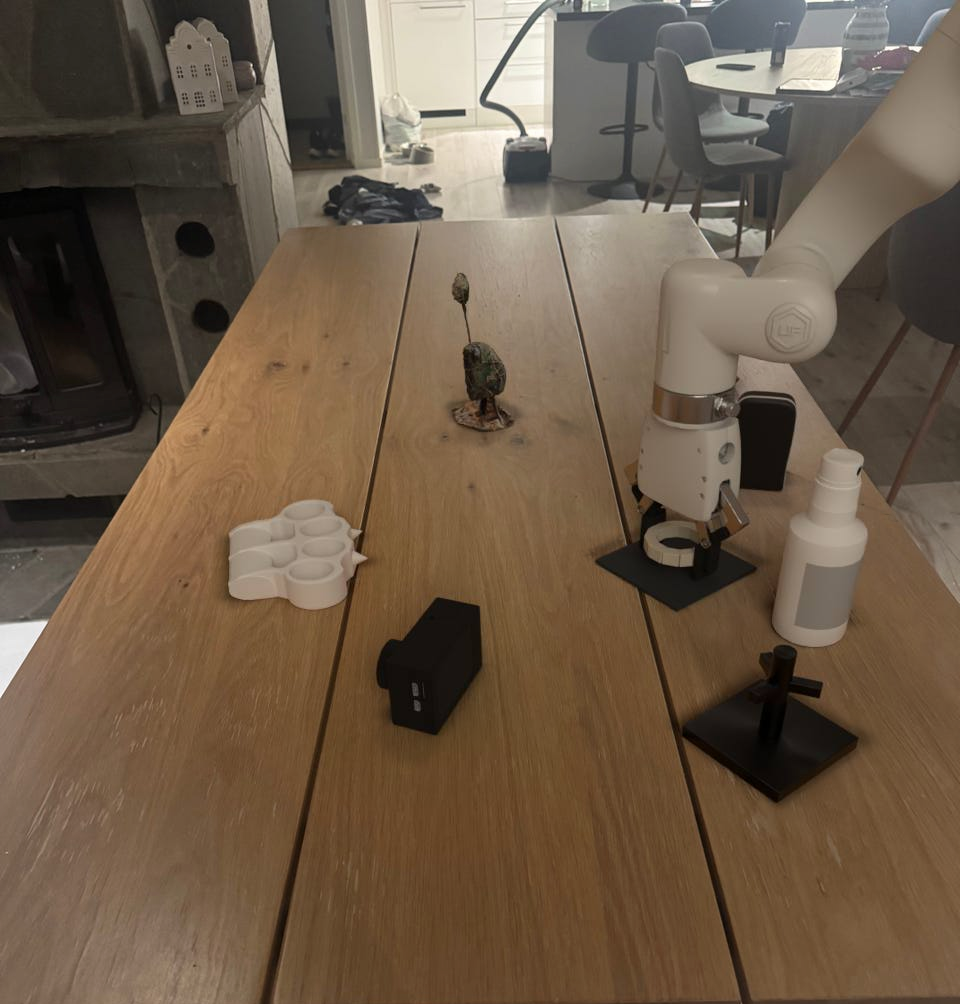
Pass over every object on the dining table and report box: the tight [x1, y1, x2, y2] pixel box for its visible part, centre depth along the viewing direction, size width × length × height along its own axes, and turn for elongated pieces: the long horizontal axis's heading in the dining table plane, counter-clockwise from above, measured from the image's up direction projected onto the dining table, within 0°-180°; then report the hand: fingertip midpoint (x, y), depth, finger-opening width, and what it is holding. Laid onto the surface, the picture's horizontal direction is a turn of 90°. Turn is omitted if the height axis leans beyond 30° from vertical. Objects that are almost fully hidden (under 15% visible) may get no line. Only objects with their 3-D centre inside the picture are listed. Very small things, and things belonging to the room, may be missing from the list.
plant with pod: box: [451, 272, 515, 432], centre depth 127 cm, size 8×11×20 cm
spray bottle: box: [771, 447, 869, 648], centre depth 87 cm, size 7×7×18 cm
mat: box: [594, 537, 758, 612], centre depth 102 cm, size 12×12×1 cm
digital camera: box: [375, 596, 483, 736], centre depth 84 cm, size 10×5×7 cm, turn 157°
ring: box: [644, 520, 700, 567], centre depth 100 cm, size 7×7×1 cm
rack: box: [681, 644, 860, 804], centre depth 77 cm, size 10×10×10 cm
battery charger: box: [736, 390, 798, 492], centre depth 113 cm, size 7×4×11 cm, turn 75°
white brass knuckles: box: [227, 498, 369, 611], centre depth 104 cm, size 3×18×15 cm
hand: (677, 558), depth 101 cm, fingers closed on ring, 6 cm apart
